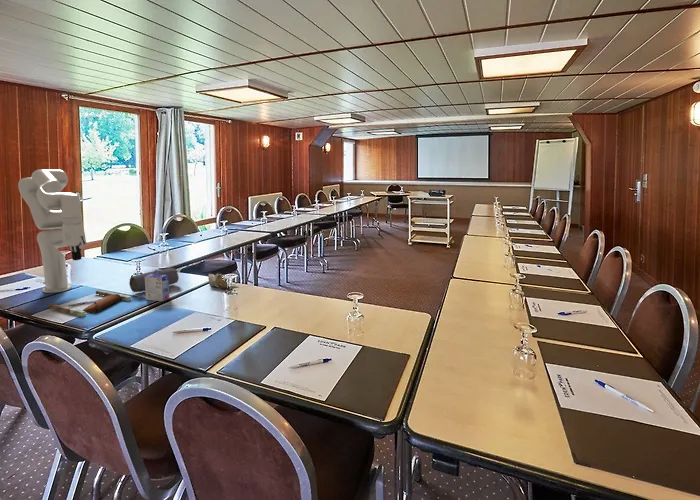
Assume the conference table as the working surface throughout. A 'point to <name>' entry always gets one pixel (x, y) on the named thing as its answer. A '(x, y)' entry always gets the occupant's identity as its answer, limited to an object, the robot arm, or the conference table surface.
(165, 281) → the ink cartridge box
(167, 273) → the bluetooth speaker
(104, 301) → the brown bottle
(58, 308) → the beige rail frame
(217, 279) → the ceramic sculpture
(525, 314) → the conference table surface
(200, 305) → the conference table surface
